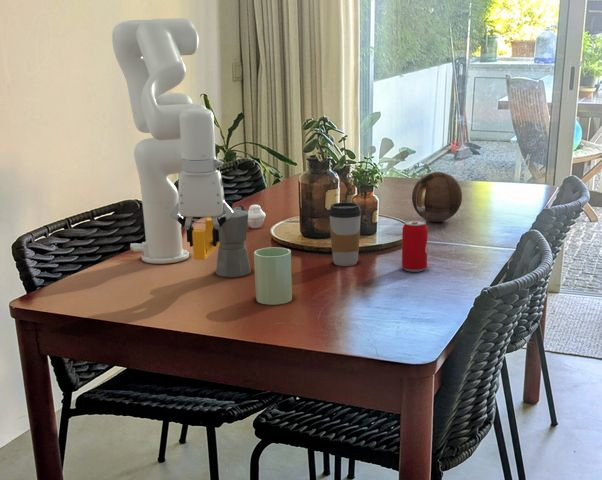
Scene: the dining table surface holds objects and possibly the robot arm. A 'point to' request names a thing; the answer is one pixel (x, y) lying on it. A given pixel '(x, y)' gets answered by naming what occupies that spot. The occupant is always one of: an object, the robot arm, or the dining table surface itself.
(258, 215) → the white rounded piece
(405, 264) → the beverage can
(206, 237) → the yellow toy block
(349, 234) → the coffee cup
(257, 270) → the tumbler
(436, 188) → the wooden sphere
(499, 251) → the dining table surface
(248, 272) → the coffeepot
